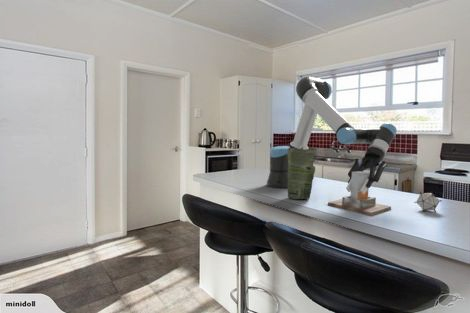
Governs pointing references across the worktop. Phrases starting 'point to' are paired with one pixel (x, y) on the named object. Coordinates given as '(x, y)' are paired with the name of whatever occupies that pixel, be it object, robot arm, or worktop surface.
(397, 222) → the worktop surface
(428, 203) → the game die
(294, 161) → the pouch
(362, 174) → the skincare box
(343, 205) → the walnut mount
